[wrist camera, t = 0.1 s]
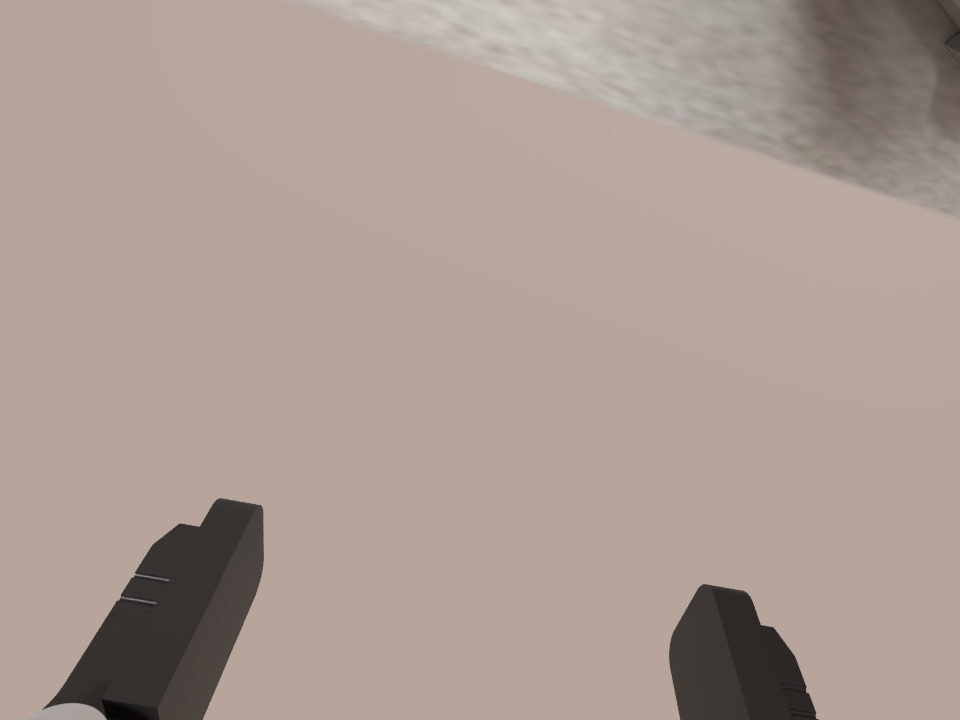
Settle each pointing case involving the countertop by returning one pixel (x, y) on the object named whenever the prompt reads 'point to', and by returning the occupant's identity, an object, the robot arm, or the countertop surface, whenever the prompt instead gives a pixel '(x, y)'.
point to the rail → (956, 3)
